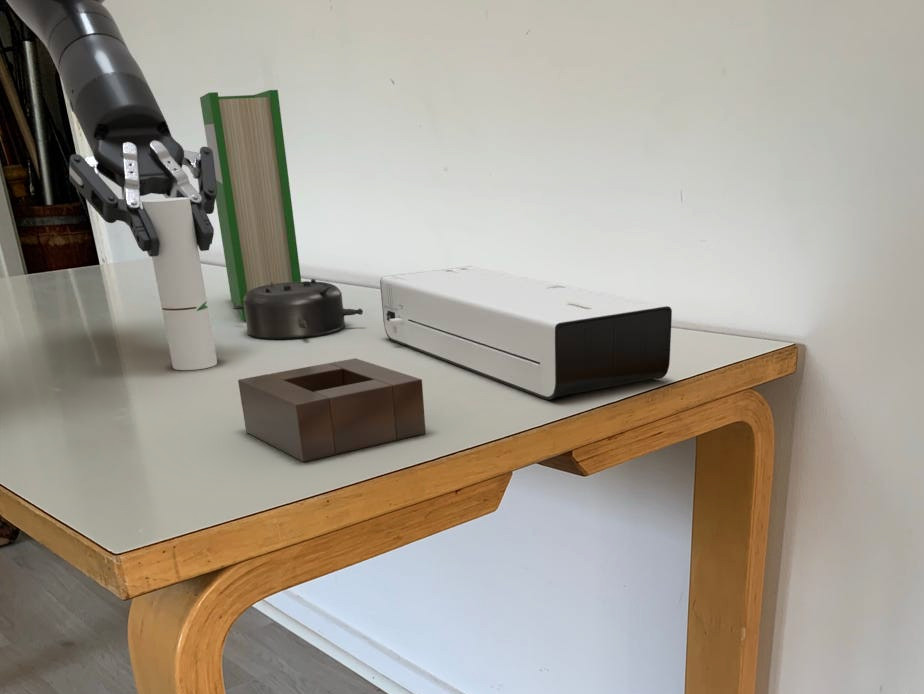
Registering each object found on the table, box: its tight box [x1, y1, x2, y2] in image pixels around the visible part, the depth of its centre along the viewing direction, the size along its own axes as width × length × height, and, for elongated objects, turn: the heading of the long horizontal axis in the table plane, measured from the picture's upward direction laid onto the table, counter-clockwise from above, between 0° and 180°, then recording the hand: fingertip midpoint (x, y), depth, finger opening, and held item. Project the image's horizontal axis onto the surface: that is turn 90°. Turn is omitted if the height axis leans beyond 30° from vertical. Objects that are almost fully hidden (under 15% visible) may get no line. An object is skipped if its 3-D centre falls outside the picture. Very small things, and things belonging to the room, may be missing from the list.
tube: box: [141, 197, 218, 371], centre depth 94 cm, size 4×4×15 cm
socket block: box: [237, 358, 427, 463], centre depth 73 cm, size 10×10×4 cm
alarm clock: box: [232, 278, 364, 340], centre depth 112 cm, size 11×5×16 cm
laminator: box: [379, 265, 673, 401], centre depth 92 cm, size 34×12×6 cm, turn 29°
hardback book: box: [199, 89, 302, 323], centre depth 121 cm, size 18×7×24 cm, turn 17°
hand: (181, 246), depth 91 cm, fingers closed on tube, 4 cm apart
